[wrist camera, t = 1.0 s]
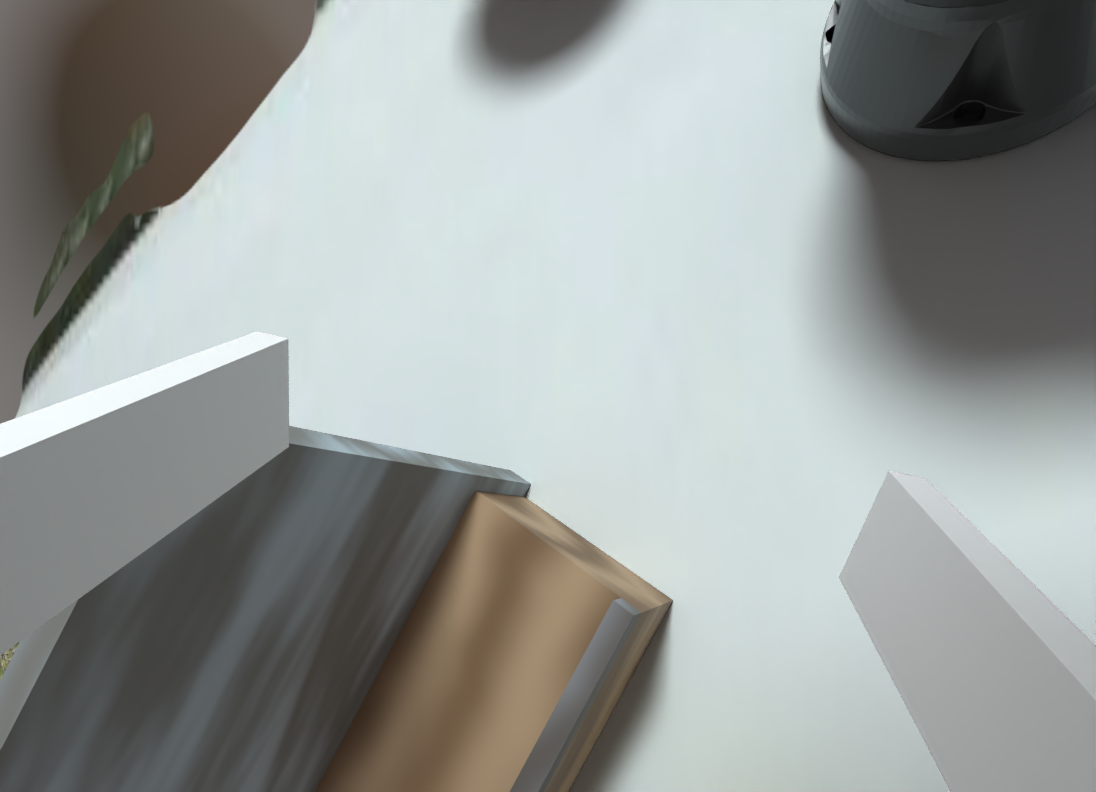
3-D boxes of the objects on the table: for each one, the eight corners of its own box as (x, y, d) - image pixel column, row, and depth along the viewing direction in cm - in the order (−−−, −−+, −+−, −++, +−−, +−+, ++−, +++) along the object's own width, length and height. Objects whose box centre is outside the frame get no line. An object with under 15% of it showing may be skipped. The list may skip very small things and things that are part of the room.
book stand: (681, 585, 32) (398, 675, 11) (490, 934, 33) (-109, 1627, 12) (510, 470, 39) (145, 397, 18) (356, 758, 40) (-165, 1000, 19)
